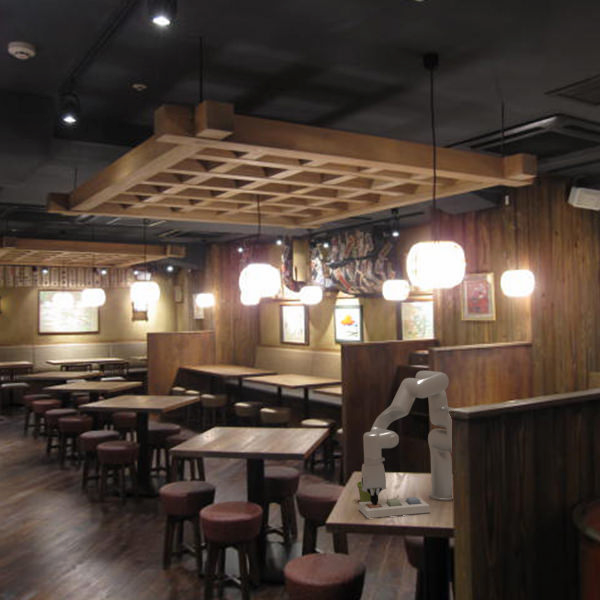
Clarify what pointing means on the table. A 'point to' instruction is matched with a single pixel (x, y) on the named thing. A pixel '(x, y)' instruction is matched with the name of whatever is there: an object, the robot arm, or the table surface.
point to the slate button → (413, 500)
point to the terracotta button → (373, 505)
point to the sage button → (393, 502)
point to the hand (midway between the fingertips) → (374, 503)
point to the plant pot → (364, 493)
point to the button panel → (393, 509)
